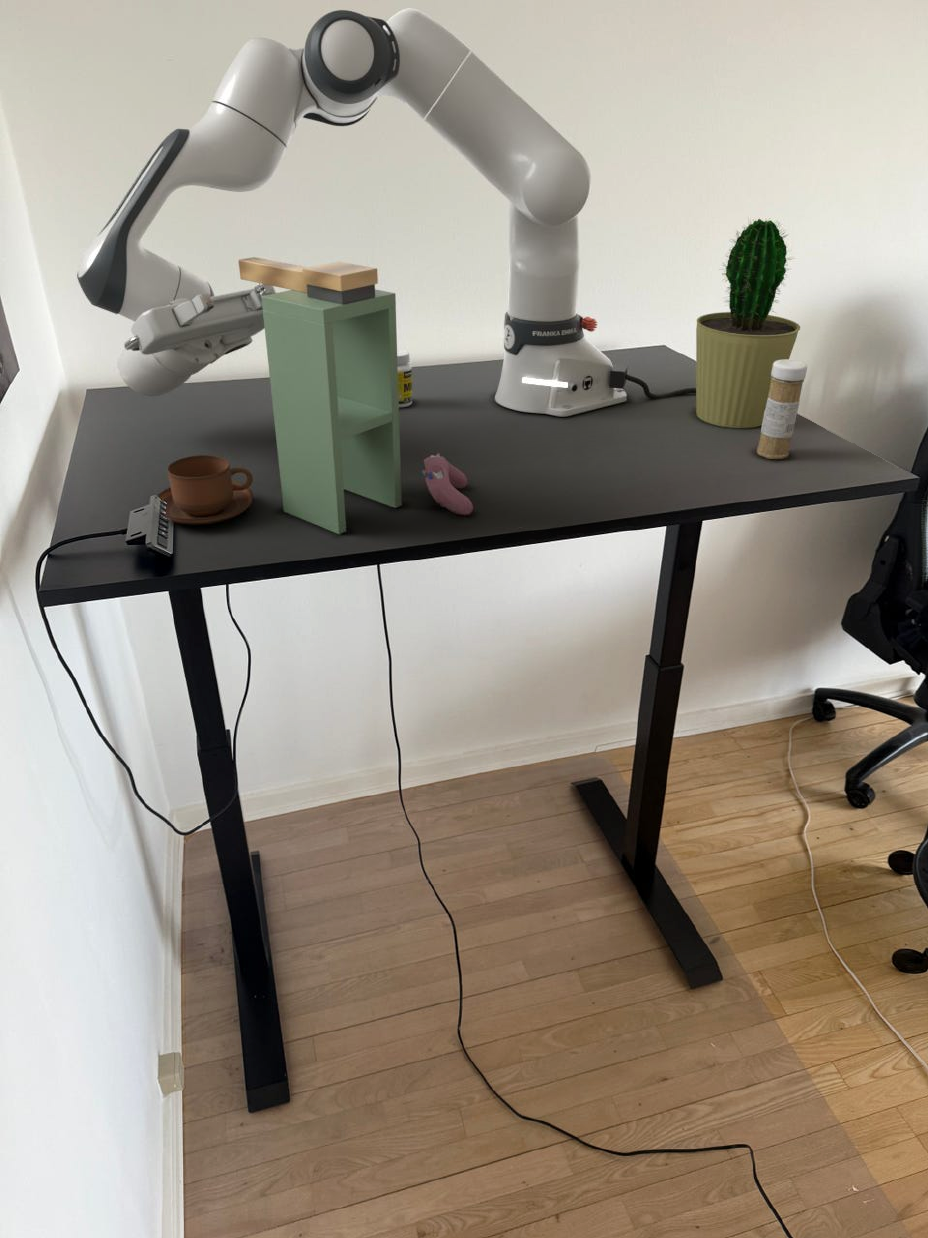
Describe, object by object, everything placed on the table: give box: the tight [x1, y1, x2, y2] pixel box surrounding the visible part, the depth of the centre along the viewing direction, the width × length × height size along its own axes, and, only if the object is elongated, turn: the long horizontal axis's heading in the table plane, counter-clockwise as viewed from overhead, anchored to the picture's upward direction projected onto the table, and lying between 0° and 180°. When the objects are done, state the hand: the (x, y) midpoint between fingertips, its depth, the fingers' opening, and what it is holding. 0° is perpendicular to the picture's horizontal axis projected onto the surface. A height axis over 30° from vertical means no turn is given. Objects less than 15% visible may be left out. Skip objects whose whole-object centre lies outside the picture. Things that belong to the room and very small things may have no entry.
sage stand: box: [261, 288, 403, 535], centre depth 106 cm, size 10×11×26 cm
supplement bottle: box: [397, 349, 413, 408], centre depth 146 cm, size 5×5×8 cm
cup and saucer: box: [156, 454, 254, 526], centre depth 110 cm, size 12×12×6 cm
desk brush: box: [238, 256, 379, 304], centre depth 101 cm, size 19×6×3 cm, turn 51°
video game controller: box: [422, 452, 474, 516], centre depth 113 cm, size 10×5×7 cm, turn 5°
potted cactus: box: [695, 218, 801, 429], centre depth 136 cm, size 15×15×30 cm
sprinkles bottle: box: [756, 359, 808, 461], centre depth 126 cm, size 5×5×14 cm
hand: (238, 293), depth 109 cm, fingers open, 8 cm apart
